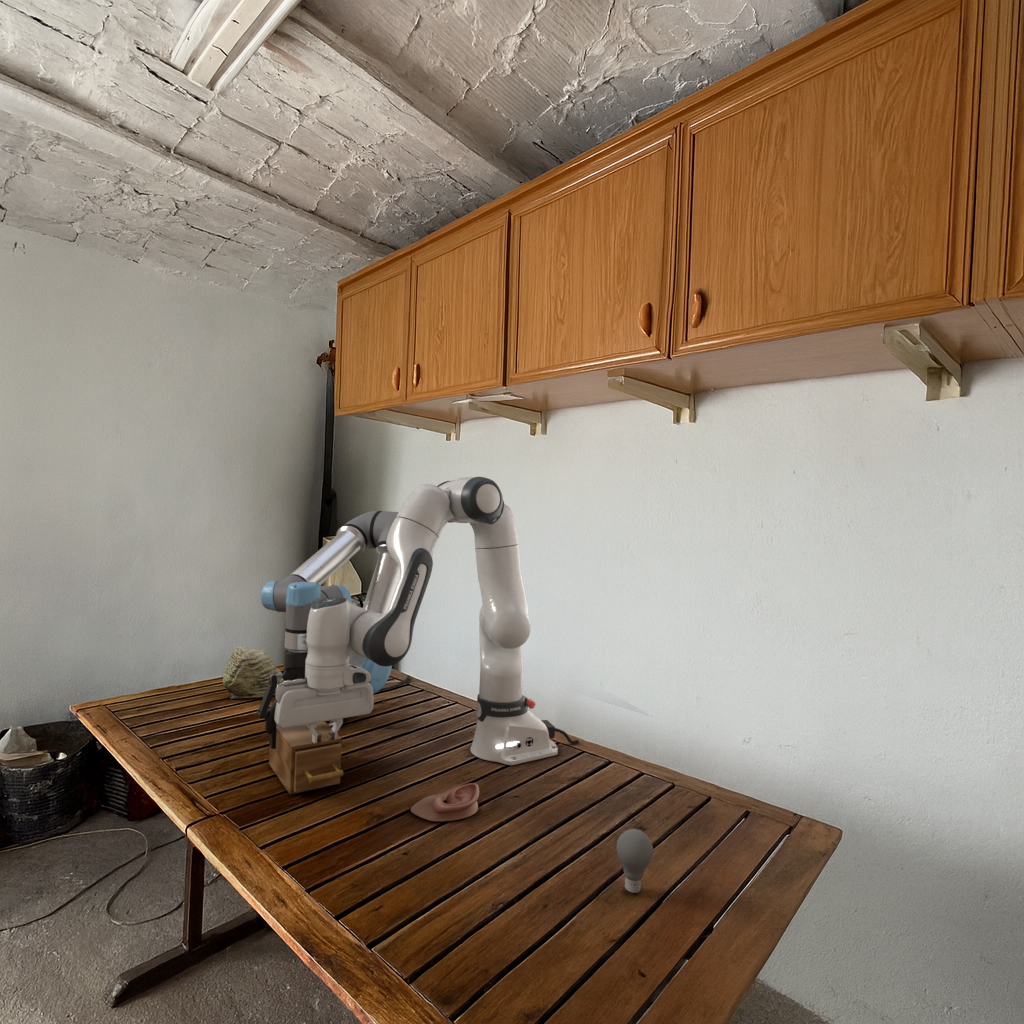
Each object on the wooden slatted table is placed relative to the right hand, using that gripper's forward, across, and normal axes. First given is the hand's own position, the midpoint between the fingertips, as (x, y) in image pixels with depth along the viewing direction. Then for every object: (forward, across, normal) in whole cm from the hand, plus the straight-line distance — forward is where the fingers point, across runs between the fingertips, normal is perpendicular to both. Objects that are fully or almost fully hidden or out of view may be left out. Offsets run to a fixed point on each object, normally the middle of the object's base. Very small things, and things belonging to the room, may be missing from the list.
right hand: (324, 740), depth 133 cm
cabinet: (+12, 0, +13) cm, 18 cm away
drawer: (+11, 0, +8) cm, 14 cm away
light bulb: (+12, +34, -57) cm, 67 cm away
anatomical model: (+12, +20, -17) cm, 29 cm away
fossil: (+12, +3, +76) cm, 77 cm away
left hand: (+7, 0, +18) cm, 20 cm away
